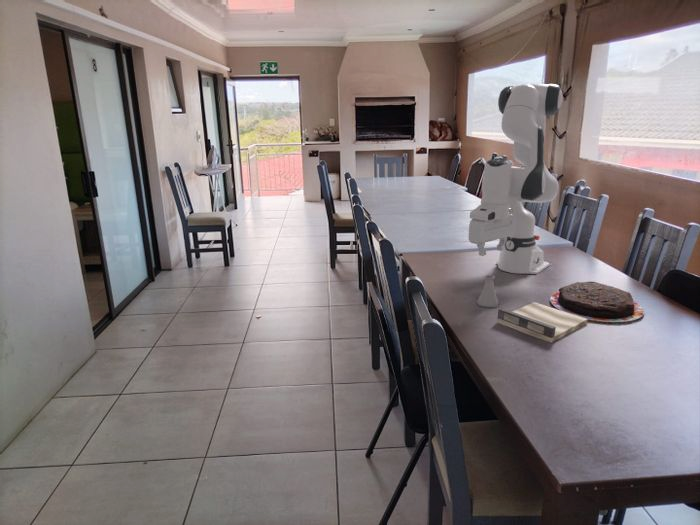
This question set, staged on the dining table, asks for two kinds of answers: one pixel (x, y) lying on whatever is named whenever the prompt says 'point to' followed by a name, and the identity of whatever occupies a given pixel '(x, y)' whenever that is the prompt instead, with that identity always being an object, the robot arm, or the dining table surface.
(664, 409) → the dining table surface
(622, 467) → the dining table surface
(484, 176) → the robot arm
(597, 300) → the chocolate cake
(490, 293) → the flask
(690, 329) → the dining table surface
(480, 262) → the dining table surface
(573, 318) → the shelf board
